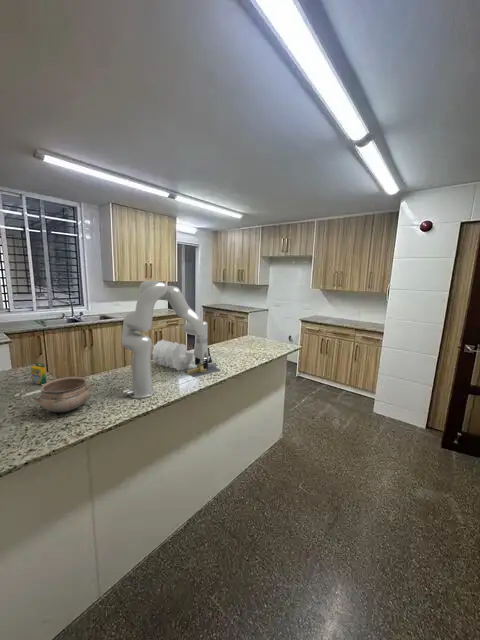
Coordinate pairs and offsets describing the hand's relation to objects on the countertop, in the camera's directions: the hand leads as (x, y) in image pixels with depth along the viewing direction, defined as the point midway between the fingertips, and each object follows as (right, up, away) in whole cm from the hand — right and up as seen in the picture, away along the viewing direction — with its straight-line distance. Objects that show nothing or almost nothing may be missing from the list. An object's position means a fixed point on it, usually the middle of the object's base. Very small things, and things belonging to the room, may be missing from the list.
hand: (201, 366), depth 174 cm
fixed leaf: (+4, -3, +4) cm, 6 cm away
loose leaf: (-3, -4, -2) cm, 5 cm away
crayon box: (-87, -6, -23) cm, 90 cm away
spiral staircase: (-21, -2, +8) cm, 22 cm away
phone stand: (0, -1, +18) cm, 18 cm away
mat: (+1, -4, +1) cm, 4 cm away
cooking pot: (-54, -11, -50) cm, 75 cm away
